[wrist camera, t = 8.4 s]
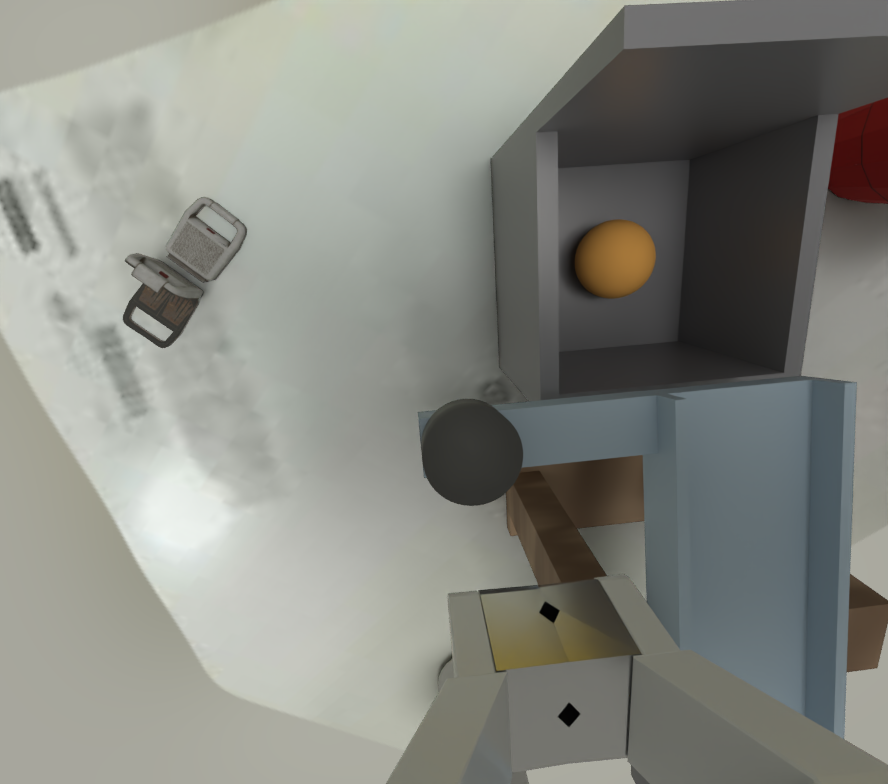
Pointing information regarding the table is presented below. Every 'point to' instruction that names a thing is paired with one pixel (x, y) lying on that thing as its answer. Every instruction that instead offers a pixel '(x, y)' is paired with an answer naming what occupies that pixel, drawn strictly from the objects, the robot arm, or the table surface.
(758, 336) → the bin
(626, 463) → the stand
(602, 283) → the ball
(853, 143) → the plastic cup
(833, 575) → the lever
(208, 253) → the grey hinged case
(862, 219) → the table surface
